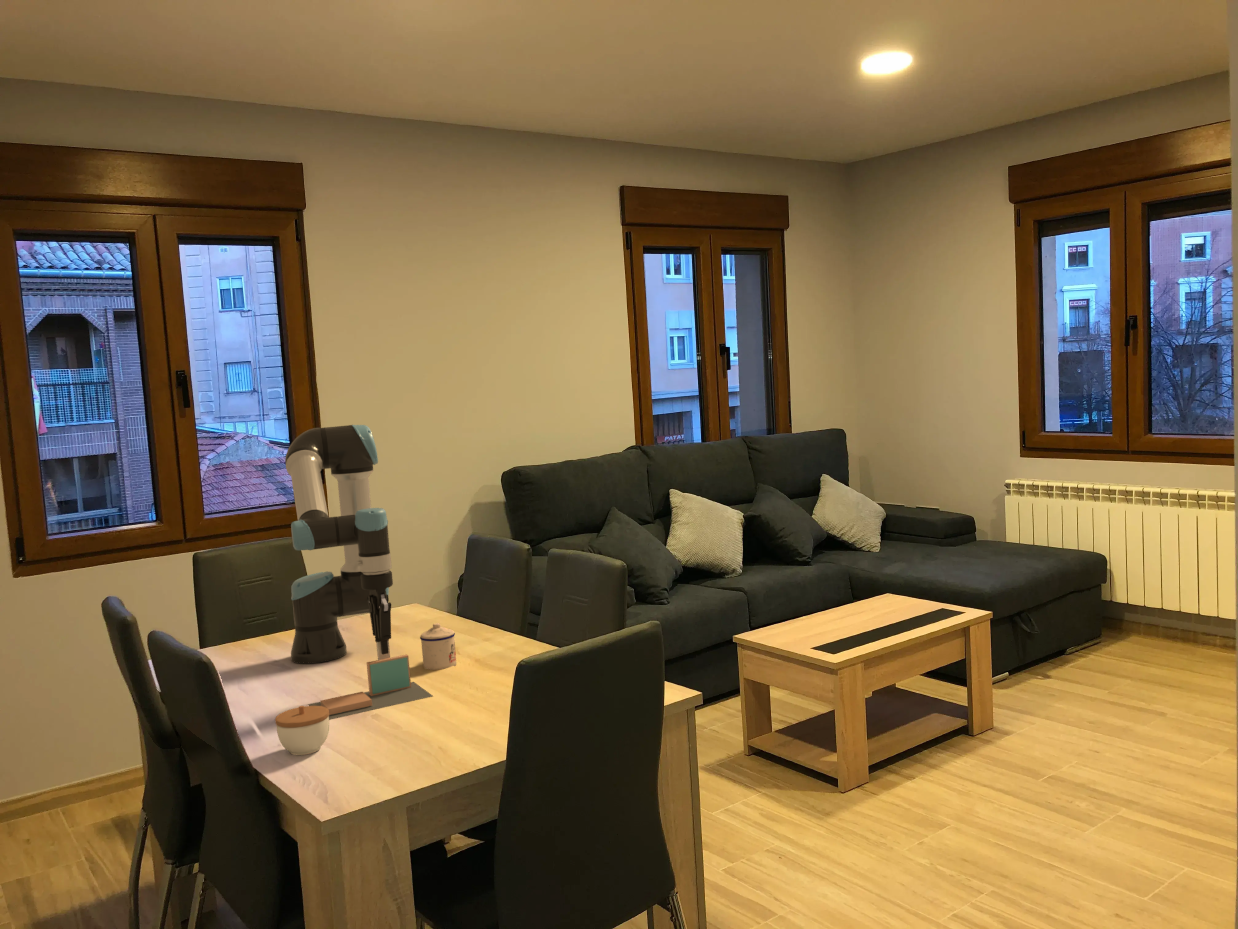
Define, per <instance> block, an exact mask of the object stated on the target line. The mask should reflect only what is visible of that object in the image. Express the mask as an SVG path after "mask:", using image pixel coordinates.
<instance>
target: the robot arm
mask: <svg viewBox="0 0 1238 929" xmlns="http://www.w3.org/2000/svg"><path fill="white" fill-rule="evenodd" d="M378 458H379V457H378V451H377V446H376V442H375V437H374V436H373V433H372V430H371V428H370V427H369V426H368V425H365V424H348V425H339V426H327V427H326V426H325V427H313V428H310V429H308V430H306V431H303V432H302V433H301V434H299V435H298V436H297V437H296V438H294V440H293V441H292V442H291V444H290V445H289V447H288V449H287V451H286V455H285V458H284V459H285V463H284V464H285V469H286V472H287V473H288V475H289V476H290V477H291V483H292V490H293V496H294V502H295V503H294V504H295V510H296V516H297V520H295V521H292V522H291V524H290V527H291V528H290V529H291V530H290V531H291V538H292V546H293V550H295V551H298V552H299V551H314V550H320V549H329V548H335V547H343V552H344V564H343V565H342V567H340V575H334V573H333V572H332V571H321V572H315V573H312V574H307V575H305V576H302V577H299V578H298V579H296V580H294V581H293V582H292V583H291V584H292V585H291V587H290V589H291V590H290V591H291V601H292V608H293V609H292V610H293V621H294V622H293V623H294V637H293V643H292V646H291V650H290V656H291V657H290V659H291V662H293V663H295V664H306V665H307V664H318V663H325V662H328V661H334V660H336V659H340V658H342V657H344V656H345V655H346V654H347V644H346V642H345V639H344V637H343V635H342V633H341V630H340V628H339V626H338V618H341V617H348V616H354V615H356V616H357V615H362V614H369V618H370V624H371V630H372V636H374V641H375V643H376V644H375V645H376V653H377V660H381V659H386V658H391V653H390V652H391V651H390V641H389V640H391V639H392V623H391V622H392V615H391V613H392V612H391V611H392V610H391V609H392V602H390V600H389V592H390V588H391V587H392V586H393V585H394V582H393V581H394V580H393V572H392V571H391V569H392V556H391V550H390V541H389V539H390V538H389V528H388V524H389V520H388V516H387V511H386V509H384V508H382V507H372V504H371V503H372V501H371V490H370V479H369V477H370V476H371V474H372V473H373V472H374V466H375V465H377V464H378V463H379V459H378ZM327 469H330V474H331V476H332V477H333V478H334V479H336V480H337V489H338V499H339V509H340V516H329V513H328V512H329V511H328V507H327V502H326V496H325V491H324V485H323V480H322V473H321V471H322V470H327Z"/></svg>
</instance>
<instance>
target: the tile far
mask: <svg viewBox="0 0 1238 929" xmlns="http://www.w3.org/2000/svg"><path fill="white" fill-rule="evenodd" d="M409 658H410V657H409V655H408V654H406V653H405V654H402V655H396V656H393V657H392V656H390V658H386V659H381V660H378V659H376V660H372V661H371V660H370V661H367V662H366V671H367V673H366V674H367V682H368V683H367V684H368V691H369V695H370V696H373V695H378V694H383V693H387V692H392V691H396V690H401V689H405V688H410V687H411V682H412V680H411V670H410V659H409Z"/></svg>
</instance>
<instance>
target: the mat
mask: <svg viewBox="0 0 1238 929" xmlns="http://www.w3.org/2000/svg"><path fill="white" fill-rule="evenodd" d="M363 692H364V693H365V694H366V695H367V696H368V697H369V698H370V699H371V700H372V706H369V707H365V708H360V709H356V710H351V711H347V712H343V713H338V714H334V715H329V721H331V720H335V719H338V718H343V717H349V716H351V715H357V714H361V713H366V712H371V711H373V710H379V709H384V708H388V707H392V706H397V705H401V704H405V703H410V702H415V701H418V700H419V701H420V700H423V699H428V698H432V697H434V696H433V694H431V693H429V691H427V690H426V689H424V688H423V687H421V686H420V685H419V684H418V683H416V682H415V681H411V687H410V688H405V689H401V690H396V691H392V692H387V693H383V694H378V695H373V696H370V695H369V690H368V691H363ZM307 706H321V703H320V701H317V702H313V703H309V704H307Z"/></svg>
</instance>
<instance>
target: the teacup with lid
mask: <svg viewBox="0 0 1238 929" xmlns="http://www.w3.org/2000/svg"><path fill="white" fill-rule="evenodd" d="M455 635H456V633H455V631H454V630H453V629H450V628H446V627H445V626H442V625H441V623H439V622H435V623H433V624H432V627H430V628H429V629H428V630H426V631H424V632H421V634H420V636H419V639H420V641H421V654H422V663H423V664H422V665H423V666H422V667H423V668H424V669H425V670H433V671H434V670H435V671H436V670H442V669H443V670H444V669H448V668H451V667H456V666H457V654H456V644H455V643H456V642H455V641H456V640H455Z"/></svg>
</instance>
